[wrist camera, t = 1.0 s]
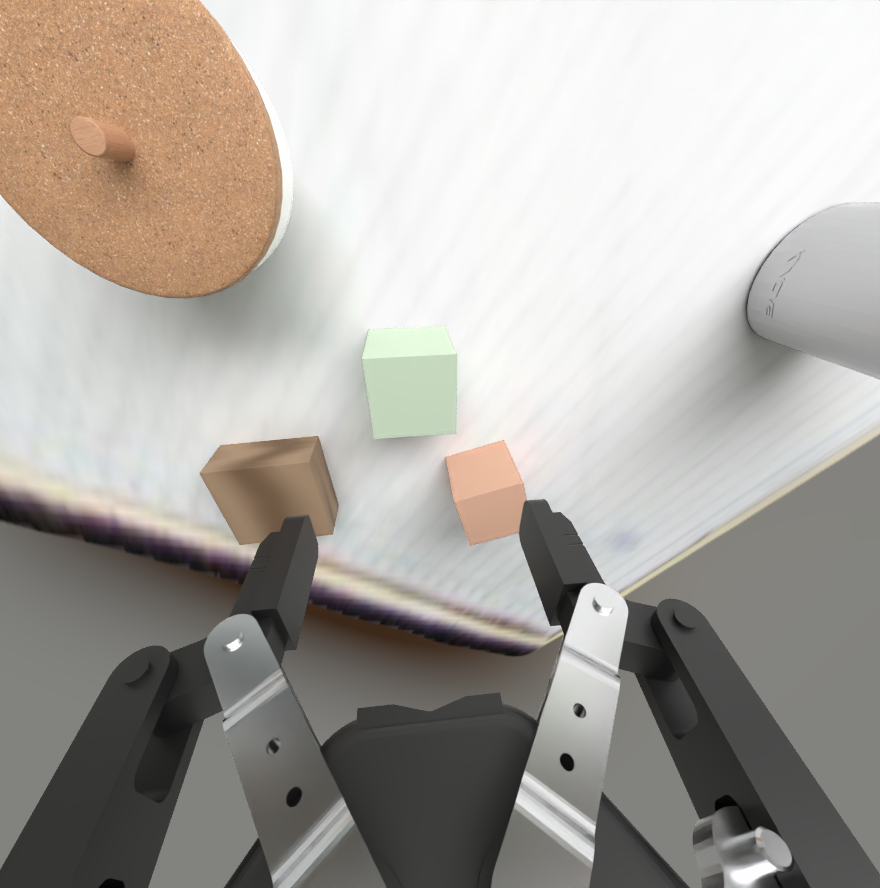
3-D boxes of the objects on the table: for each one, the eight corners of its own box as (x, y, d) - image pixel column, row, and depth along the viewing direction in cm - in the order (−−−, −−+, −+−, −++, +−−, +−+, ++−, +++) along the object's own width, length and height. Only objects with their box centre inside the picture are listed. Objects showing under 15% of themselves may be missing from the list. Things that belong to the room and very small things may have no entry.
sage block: (445, 325, 25) (456, 353, 20) (446, 394, 28) (456, 433, 23) (368, 329, 25) (361, 359, 20) (378, 398, 28) (373, 439, 23)
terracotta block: (503, 439, 32) (523, 482, 27) (513, 483, 35) (532, 528, 30) (445, 456, 32) (454, 502, 27) (460, 498, 35) (470, 545, 30)
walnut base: (318, 434, 30) (309, 462, 26) (338, 502, 34) (332, 534, 31) (221, 443, 29) (199, 473, 26) (255, 511, 34) (239, 544, 30)
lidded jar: (38, 45, 16) (-290, -103, 8) (262, -8, 16) (135, -208, 8) (177, 289, 22) (61, 332, 15) (341, 253, 22) (310, 277, 14)
